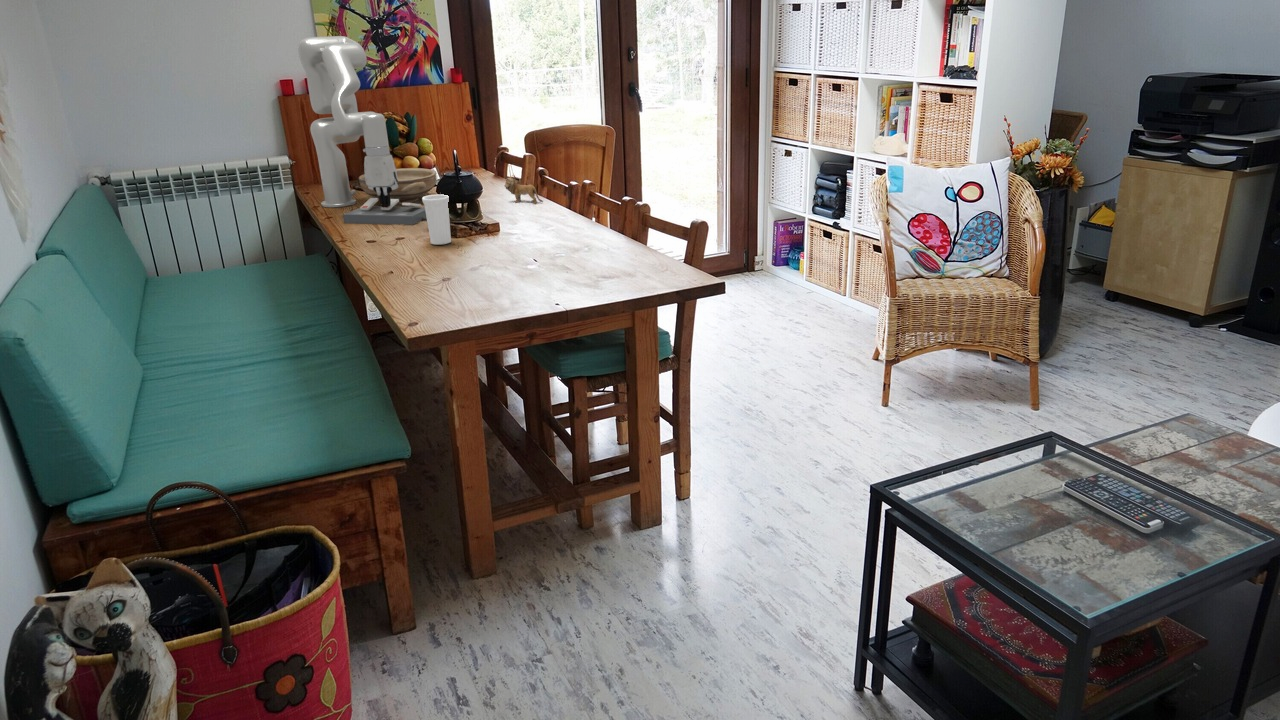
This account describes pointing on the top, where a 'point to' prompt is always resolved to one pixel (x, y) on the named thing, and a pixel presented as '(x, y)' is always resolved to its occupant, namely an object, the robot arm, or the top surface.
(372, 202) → the far-end rocker
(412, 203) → the block
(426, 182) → the ceramic bowl
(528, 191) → the lion figurine
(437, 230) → the cup
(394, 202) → the middle rocker
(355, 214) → the grey switch panel
